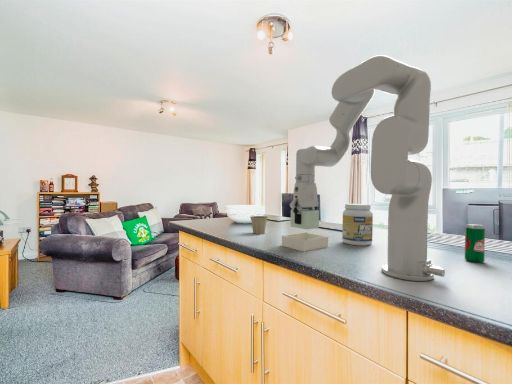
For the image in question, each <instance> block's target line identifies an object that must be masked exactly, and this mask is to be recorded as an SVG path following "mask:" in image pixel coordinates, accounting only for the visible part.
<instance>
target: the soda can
mask: <svg viewBox="0 0 512 384" xmlns="http://www.w3.org/2000/svg"><path fill="white" fill-rule="evenodd" d="M485 253H486V228H485V227H484V225H483V224H476V223H466V226H465V228H464V259H465V261H466V262H470V263H476V264H483V263H484V262H485V261H486V260H485V259H486V258H485V255H486V254H485Z"/></svg>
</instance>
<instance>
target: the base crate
mask: <svg viewBox="0 0 512 384" xmlns="http://www.w3.org/2000/svg"><path fill="white" fill-rule="evenodd" d="M281 246H282V247H284V248H289V249H293V250H297V251H300V252H309V251H314V250H318V249H323V248H328V247H329V236H327V235H322V234H316V233H310V232H308V231H307V232H299V233H298V232H297V233H292V234H283V235H281Z"/></svg>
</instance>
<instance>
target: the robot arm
mask: <svg viewBox="0 0 512 384" xmlns="http://www.w3.org/2000/svg"><path fill="white" fill-rule="evenodd" d="M375 90H376V91H379V92H382V93H386V94H388V95H394V96H397V97H396V99H395V101H394V105H393V115H389V116H386V117H384V118H383V119H382V120H380V121H379V122H378V123H377V125H376V127H375V128H374V131H373V133H372V138H371V150H370V151H371V153H370V154H371V155H370V180H371V184H372V185H373V187H374V189H375V190H377V192H379V193H381V194H384V195H391V196H390V198H389V199H390V200H389V203H388V214H387V215H388V217H387V220H388V221H387V263H386V264H382V265H381V272H382V273H384V274H385V275H387V276H389V277H392V278H395V279H400V280H405V281H413V282H427V281H428V282H429V281H431V280H433V279H434V278H435V276H439V277H442V278H444V277H445V275H446V270H445V269H444V267H442V266H437V265H433V264H432V259H430V258H429V259H428V226H429V223H428V219H429V202H430V195H431V189H432V185H433V184H432V183H433V176H432V173H431V170H430V169H429V167H428V166H427V165H426V164H425V163H423V162H421V161H418V160H414V159H408V158H409V156H410V155H411V156H413V155H417V154H419V153H421V152H423V151H424V150H425V148H427V146H428V145H427V144H428V143H429V134H430V133H429V131H430V110H431V109H430V104H431V103H430V102H431V91H432V82H431V78H430V75H429V74H428V73H427V72H426V71H425V70H423V69H421V68H418V67H416V66H411V65H409V64H407V63H404V62H402V61H400V60H397V59H394V58H393V57H391V56H388V55H384V54H380V55H378V54H377V55H375V56H372V57H370V58H368V59H365V60H364V61H362V62H360V63H358V64H357V65H355V66H353V67H352V68H350V69H348V70H347V71H345V72H343V73H342V74H341V75H339V76H338V77H337V78H336V80H334V83H332V87H331V95H332V99H334V100H335V102H338V103H337V104H336V107H335V108H334V110H333V111H332V113H331V115H330V117H329V118H328V119H329V124H330V125H331V126H332V128H333V129H335V130H336V136H335V139H334V140H333V142H332V143H331V145H330V146H320V145H311V146H309V147H306V148H300V149H298V150H296V152H295V153H296V154H295V155H296V156H295V157H296V158H295V161H296V162H295V177H294V180H295V183H294V187H293V197H292V200H291V202H290V203H289V207H290V208H291V210H292V211H293V213H294V214H295V224H301V214H300V213H301V210H302V209H307V210H317V209H318V207H319V205H320V203H319V201H318V188H317V184H316V182H315V180H316V177H315V176H316V167H329V168H331V167H334V166H336V165H337V164H338V163H339V162H340V161H341V160H342V158H343V157H344V156H345V154H346V153H347V151H348V149H349V147H350V142H351V131H352V129H353V127H354V126H355V124H356V123H357V121H358V120H359V118H360V116H361V115H362V114H363V112H365V110H366V108H367V106H369V104H370V102H371V100H372V99H373V98H374V95H375Z"/></svg>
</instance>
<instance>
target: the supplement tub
mask: <svg viewBox="0 0 512 384" xmlns="http://www.w3.org/2000/svg"><path fill="white" fill-rule="evenodd" d="M344 208H345V209H344V210H343V211H342V241H343V243H345V244H347V245H349V246H350V245H351V246H358V247H359V246H370V245H371V244H372V242H373V224H374V223H373V222H374V221H373V217H374V216H373V215H374V214H373V211H371V204H369V203H368V204H367V203H345V205H344Z"/></svg>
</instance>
